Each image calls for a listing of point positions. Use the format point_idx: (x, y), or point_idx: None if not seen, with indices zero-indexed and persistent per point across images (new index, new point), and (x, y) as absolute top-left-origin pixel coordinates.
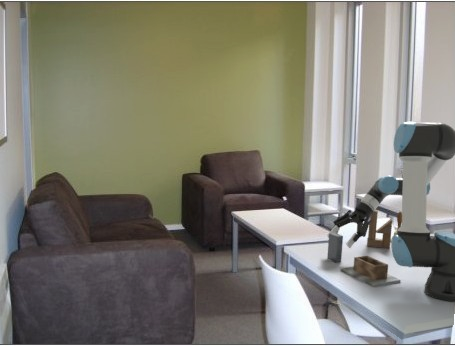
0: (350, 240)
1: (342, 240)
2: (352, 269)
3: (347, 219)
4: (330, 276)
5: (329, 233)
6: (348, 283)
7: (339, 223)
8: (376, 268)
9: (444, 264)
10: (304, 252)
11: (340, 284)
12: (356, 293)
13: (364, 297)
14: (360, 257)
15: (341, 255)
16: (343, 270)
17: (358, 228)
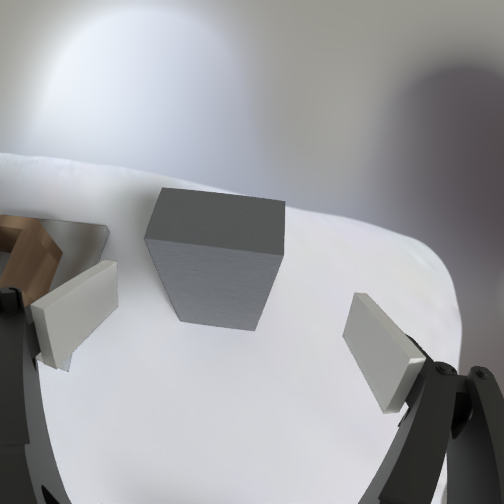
0: (83, 275)
1: (153, 259)
2: (68, 255)
3: (377, 494)
4: (106, 171)
5: (278, 201)
6: (46, 180)
7: (421, 394)
8: None
9: None
10: (378, 267)
11: (61, 160)
12: (19, 161)
13: (4, 163)
14: (17, 242)
15: (174, 307)
16: (92, 226)
17: (1, 345)
